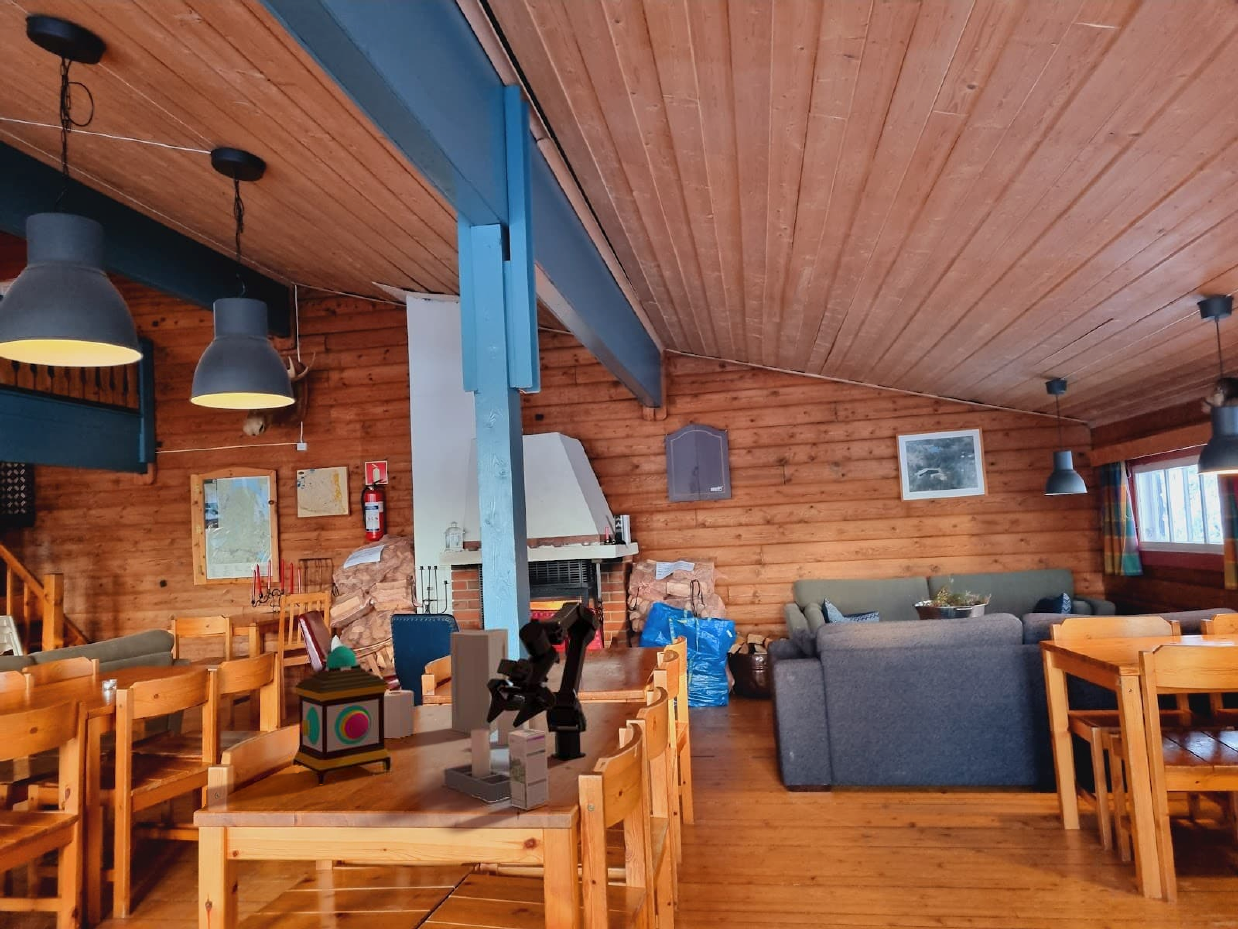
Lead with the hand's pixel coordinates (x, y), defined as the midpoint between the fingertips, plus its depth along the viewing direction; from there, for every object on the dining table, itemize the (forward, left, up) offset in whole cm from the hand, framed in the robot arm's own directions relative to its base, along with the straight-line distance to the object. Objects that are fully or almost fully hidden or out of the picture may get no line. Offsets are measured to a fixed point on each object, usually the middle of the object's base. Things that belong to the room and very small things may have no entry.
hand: (500, 724), depth 187 cm
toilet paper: (+70, -7, -13) cm, 72 cm away
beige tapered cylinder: (-1, +6, -12) cm, 14 cm away
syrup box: (-18, +5, -13) cm, 23 cm away
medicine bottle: (+35, -25, -13) cm, 45 cm away
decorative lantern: (+39, +21, -13) cm, 46 cm away
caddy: (-1, +6, -13) cm, 14 cm away
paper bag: (+60, -28, -13) cm, 68 cm away
